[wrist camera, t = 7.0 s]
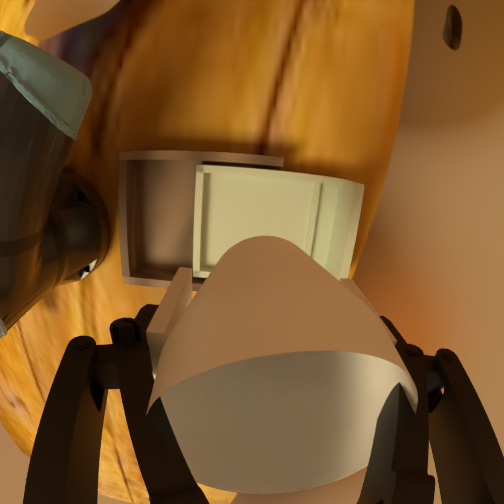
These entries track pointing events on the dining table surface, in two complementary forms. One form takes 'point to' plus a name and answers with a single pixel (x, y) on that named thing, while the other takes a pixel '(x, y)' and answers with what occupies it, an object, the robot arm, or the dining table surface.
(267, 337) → the cup
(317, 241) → the tray
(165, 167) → the dock
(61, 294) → the dining table surface
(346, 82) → the dining table surface
